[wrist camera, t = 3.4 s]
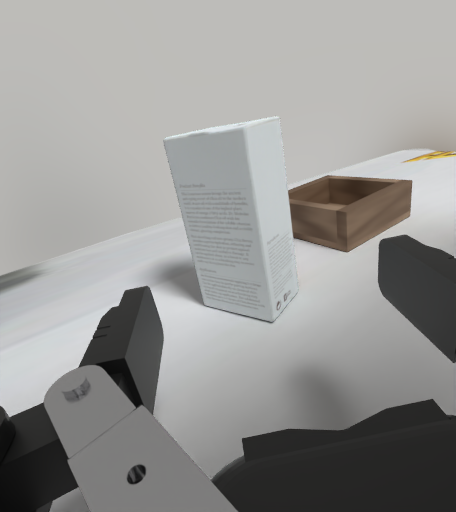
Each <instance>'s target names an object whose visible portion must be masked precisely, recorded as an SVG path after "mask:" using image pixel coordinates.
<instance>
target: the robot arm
mask: <svg viewBox="0 0 456 512" xmlns="http://www.w3.org/2000/svg"><path fill="white" fill-rule="evenodd" d="M378 283H379V287H380V290H381V292H382V294H383V296H384V297H385V298H386V299H387V300H388V301H389V302H390V303H391V304H392V305H393V306H394V307H395V308H396V309H397V310H399V311H400V312H401V313H402V314H403V315H404V316H405V317H406V318H407V319H408V320H409V321H410V322H411V323H412V324H413V325H414V326H415V327H416V328H417V329H418V330H419V331H420V332H422V333H423V334H424V335H425V336H426V337H427V338H428V339H429V340H430V341H431V342H432V343H433V344H434V345H435V346H436V347H437V348H438V349H439V350H440V351H441V352H442V353H443V354H444V355H446V356H447V357H448V358H449V359H450V360H451V361H452V362H453V363H455V362H456V258H454V257H453V256H452V255H450V254H448V253H446V252H444V251H442V250H440V249H436V248H433V247H429V246H426V245H424V244H422V243H420V242H418V241H417V240H415V239H413V238H411V237H409V236H408V235H401V236H396V237H391V238H386V239H382V240H381V241H380V243H379V262H378ZM163 341H164V336H163V328H162V324H161V320H160V317H159V314H158V311H157V308H156V305H155V302H154V299H153V296H152V293H151V290H150V288H149V287H148V286H144V287H139V288H134V289H129V290H126V291H125V292H124V294H123V297H122V299H121V302H120V304H119V306H117V307H112V308H111V309H110V310H109V311H108V312H107V313H106V314H105V315H104V316H103V317H102V318H101V320H100V322H99V325H98V327H97V330H96V331H95V333H94V335H93V339H92V340H91V342H90V344H89V346H88V348H87V350H86V352H85V354H84V357H83V359H82V361H81V363H80V365H79V367H78V368H76V369H74V370H72V371H70V372H68V373H66V374H65V375H63V376H62V377H61V378H59V379H58V380H57V381H56V382H55V383H54V384H53V385H52V386H51V387H50V388H49V390H48V391H47V393H46V395H45V398H44V402H43V403H41V404H39V405H37V406H34V407H32V408H30V409H28V410H25V411H23V412H21V413H18V414H16V415H14V416H12V417H9V416H8V414H7V413H6V411H5V410H4V409H3V408H2V407H1V406H0V512H49V511H50V508H51V504H52V501H53V500H55V499H57V498H59V497H61V496H62V495H64V494H66V493H68V492H70V491H72V490H74V489H76V488H77V487H79V488H80V490H81V492H82V495H83V497H84V499H85V501H86V503H87V506H88V508H89V510H90V512H456V416H454V415H446V414H445V413H444V412H443V411H442V409H441V408H440V407H439V406H438V405H437V404H436V402H435V401H434V400H433V399H430V400H426V401H421V402H416V403H411V404H406V405H401V406H397V407H392V408H387V409H385V410H383V411H381V412H379V413H377V414H375V415H373V416H371V417H369V418H367V419H365V420H363V421H361V422H359V423H357V424H355V425H353V426H352V427H350V428H348V429H345V430H338V431H337V430H308V429H286V430H281V431H276V432H271V433H267V434H262V435H257V436H252V437H247V438H242V443H243V450H244V456H242V457H240V458H238V459H236V460H234V461H233V462H231V463H230V464H228V465H227V466H226V467H224V468H223V469H222V470H221V471H220V472H219V473H217V474H216V475H215V476H214V477H213V479H212V480H211V481H210V480H209V478H208V477H207V476H206V475H205V474H204V473H203V472H202V471H201V469H200V468H199V467H198V466H197V465H196V464H195V463H194V462H193V460H192V459H191V458H190V457H189V456H188V455H187V454H186V453H185V451H184V450H183V449H182V448H181V447H180V446H179V445H178V443H177V442H176V441H175V440H174V439H173V438H172V437H171V436H170V434H169V433H168V432H167V431H166V430H165V429H164V428H163V427H162V425H161V424H160V423H159V422H158V421H157V420H156V419H155V418H154V416H153V410H154V403H155V396H156V389H157V382H158V376H159V369H160V362H161V355H162V348H163Z"/></svg>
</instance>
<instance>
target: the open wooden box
mask: <svg viewBox="0 0 456 512" xmlns="http://www.w3.org/2000/svg"><path fill="white" fill-rule="evenodd" d="M411 192H412V180H395V179H379V178H362V177H345V176H329V175H327V176H325V177H322V178H319V179H317V180H314V181H312V182H309V183H306V184H304V185H301V186H299V187H296V188H293V189H291V190H288V196H289V205H290V214H291V223H292V233H293V237H294V238H298V239H302V240H305V241H309V242H313V243H316V244H320V245H323V246H327V247H331V248H334V249H338V250H341V251H345V252H349V251H350V250H352V249H354V248H355V247H357V246H359V245H361V244H362V243H364V242H366V241H368V240H369V239H371V238H373V237H375V236H376V235H378V234H380V233H381V232H383V231H385V230H387V229H388V228H390V227H392V226H394V225H395V224H397V223H399V222H401V221H402V220H404V219H406V218H407V217H409V216H410V208H411Z"/></svg>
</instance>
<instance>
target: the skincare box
mask: <svg viewBox="0 0 456 512" xmlns="http://www.w3.org/2000/svg"><path fill="white" fill-rule="evenodd" d="M163 142H164V146H165V150H166V154H167V158H168V162H169V165H170V170H171V174H172V177H173V181H174V185H175V189H176V193H177V197H178V201H179V205H180V209H181V213H182V218H183V222H184V226H185V230H186V234H187V238H188V242H189V246H190V250H191V254H192V258H193V262H194V266H195V270H196V274H197V278H198V282H199V286H200V290H201V294H202V298H203V302H204V305H206V306H210V307H214V308H218V309H222V310H226V311H230V312H234V313H238V314H242V315H247V316H250V317H254V318H258V319H262V320H266V321H270V322H273V321H274V320H275V319H276V318H277V317H278V316H279V314H280V313H281V312H282V311H283V309H284V308H285V307H286V306H287V304H288V303H289V302H290V301H291V299H292V298H293V297H294V296H295V295H296V294H297V292H298V290H299V287H298V278H297V269H296V259H295V250H294V241H293V233H292V223H291V214H290V205H289V196H288V187H287V178H286V169H285V160H284V151H283V141H282V132H281V123H280V118H279V117H278V116H275V117H270V118H265V119H259V120H254V121H248V122H242V123H236V124H230V125H224V126H218V127H212V128H207V129H202V130H197V131H193V132H189V133H185V134H180V135H175V136H170V137H167V138H165V139H164V140H163Z"/></svg>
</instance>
